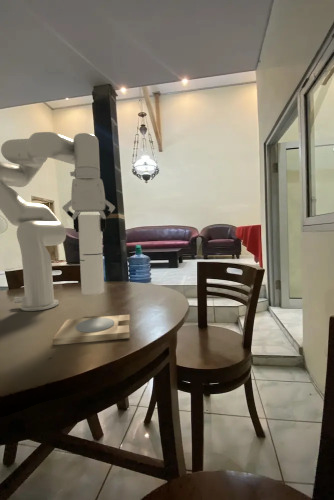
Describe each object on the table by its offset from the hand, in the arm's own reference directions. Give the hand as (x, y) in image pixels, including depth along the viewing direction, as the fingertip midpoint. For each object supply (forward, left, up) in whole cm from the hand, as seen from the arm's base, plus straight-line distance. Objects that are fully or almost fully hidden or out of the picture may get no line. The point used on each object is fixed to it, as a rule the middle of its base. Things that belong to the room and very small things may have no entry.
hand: (90, 231), depth 84 cm
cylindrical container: (0, 0, -20) cm, 20 cm away
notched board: (+2, -16, -27) cm, 32 cm away
